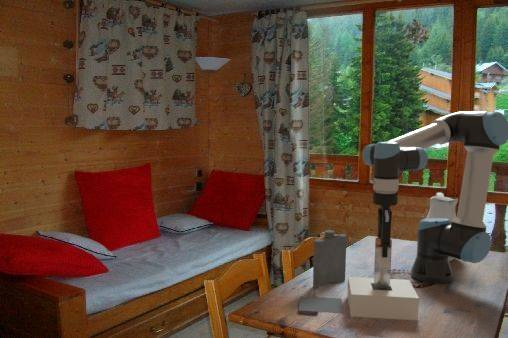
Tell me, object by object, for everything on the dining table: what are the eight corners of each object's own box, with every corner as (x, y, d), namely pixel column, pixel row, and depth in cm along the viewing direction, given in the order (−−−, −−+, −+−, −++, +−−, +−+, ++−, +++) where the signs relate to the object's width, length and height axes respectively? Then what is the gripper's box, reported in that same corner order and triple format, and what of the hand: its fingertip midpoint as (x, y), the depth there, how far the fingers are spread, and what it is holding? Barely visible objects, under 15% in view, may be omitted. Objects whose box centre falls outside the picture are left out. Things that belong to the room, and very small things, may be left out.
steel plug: (388, 292, 156) (390, 237, 154) (390, 298, 151) (392, 241, 149) (372, 291, 157) (374, 236, 155) (374, 297, 152) (376, 241, 150)
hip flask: (317, 289, 173) (318, 235, 170) (309, 286, 176) (310, 232, 173) (346, 280, 182) (348, 228, 180) (338, 277, 186) (340, 226, 183)
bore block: (407, 302, 161) (409, 279, 160) (417, 323, 145) (419, 298, 144) (347, 299, 164) (348, 276, 163) (350, 319, 148) (351, 294, 147)
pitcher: (462, 265, 201) (466, 200, 198) (420, 261, 206) (423, 197, 203) (455, 250, 224) (459, 191, 221) (417, 247, 229) (420, 189, 226)
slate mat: (341, 301, 162) (341, 298, 162) (343, 316, 150) (343, 313, 150) (300, 299, 164) (300, 296, 164) (298, 313, 152) (298, 310, 152)
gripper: (370, 186, 159) (368, 254, 162) (376, 196, 142) (373, 272, 144) (393, 187, 158) (391, 256, 161) (402, 197, 141) (399, 273, 143)
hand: (382, 263), depth 153 cm, fingers closed on steel plug, 5 cm apart
